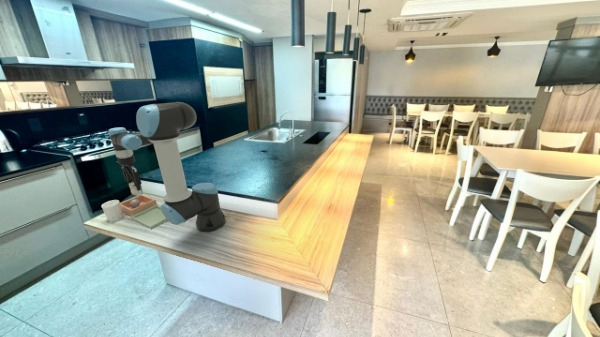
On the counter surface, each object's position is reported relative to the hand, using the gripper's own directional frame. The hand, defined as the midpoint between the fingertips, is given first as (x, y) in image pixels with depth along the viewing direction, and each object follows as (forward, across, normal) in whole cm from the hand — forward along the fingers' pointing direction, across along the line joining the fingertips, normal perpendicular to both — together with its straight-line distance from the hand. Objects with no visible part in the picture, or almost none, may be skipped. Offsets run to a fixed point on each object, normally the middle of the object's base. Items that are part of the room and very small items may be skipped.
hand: (137, 193), depth 134 cm
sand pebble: (+1, 0, 0) cm, 1 cm away
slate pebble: (+11, +8, 0) cm, 13 cm away
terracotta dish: (+12, +4, 0) cm, 12 cm away
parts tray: (+12, -14, +1) cm, 18 cm away
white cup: (+12, +5, +12) cm, 18 cm away
